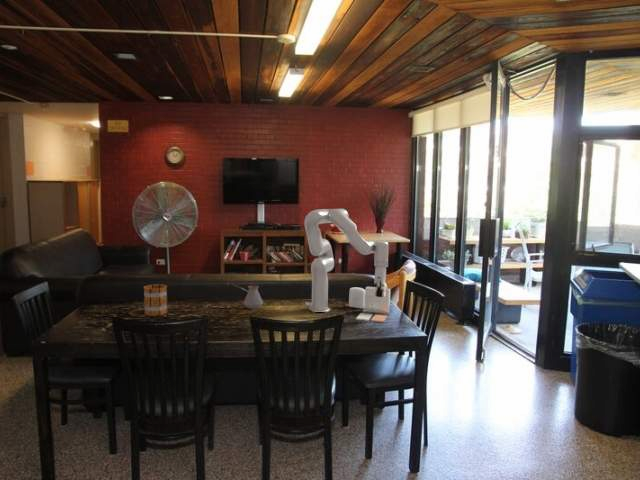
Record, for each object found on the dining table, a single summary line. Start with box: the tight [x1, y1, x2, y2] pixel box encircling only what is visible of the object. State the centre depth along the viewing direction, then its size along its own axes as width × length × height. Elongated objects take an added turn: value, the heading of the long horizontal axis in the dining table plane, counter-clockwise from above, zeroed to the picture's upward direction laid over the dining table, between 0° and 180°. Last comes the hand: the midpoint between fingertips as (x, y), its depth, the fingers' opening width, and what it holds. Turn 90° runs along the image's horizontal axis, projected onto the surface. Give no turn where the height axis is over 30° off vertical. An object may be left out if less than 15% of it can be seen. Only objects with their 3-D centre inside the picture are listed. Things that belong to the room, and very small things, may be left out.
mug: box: [143, 283, 168, 316], centre depth 284 cm, size 20×14×15 cm
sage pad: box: [355, 312, 374, 322], centre depth 281 cm, size 7×12×1 cm, turn 162°
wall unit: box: [361, 286, 393, 316], centre depth 292 cm, size 16×8×14 cm, turn 72°
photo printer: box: [348, 286, 365, 310], centre depth 303 cm, size 10×4×12 cm, turn 67°
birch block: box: [375, 286, 387, 297], centre depth 276 cm, size 5×5×5 cm
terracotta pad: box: [370, 314, 388, 323], centre depth 278 cm, size 7×12×1 cm, turn 162°
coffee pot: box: [227, 281, 264, 310], centre depth 297 cm, size 21×12×15 cm, turn 87°
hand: (380, 295), depth 276 cm, fingers closed on birch block, 5 cm apart
